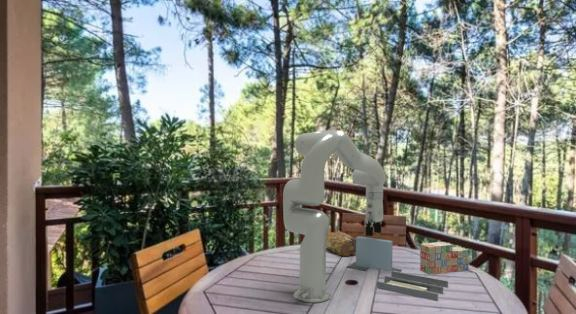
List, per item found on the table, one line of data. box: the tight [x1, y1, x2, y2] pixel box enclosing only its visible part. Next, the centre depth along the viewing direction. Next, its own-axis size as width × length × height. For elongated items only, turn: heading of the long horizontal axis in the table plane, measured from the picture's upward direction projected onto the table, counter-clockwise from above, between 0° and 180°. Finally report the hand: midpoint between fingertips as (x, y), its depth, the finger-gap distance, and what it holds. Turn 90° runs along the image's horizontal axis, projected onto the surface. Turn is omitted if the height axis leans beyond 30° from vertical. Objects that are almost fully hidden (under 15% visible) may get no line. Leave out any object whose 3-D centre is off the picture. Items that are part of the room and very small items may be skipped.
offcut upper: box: [387, 281, 428, 292], centre depth 144 cm, size 4×14×2 cm, turn 54°
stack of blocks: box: [419, 241, 470, 276], centre depth 171 cm, size 21×6×12 cm, turn 109°
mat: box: [346, 261, 403, 273], centre depth 172 cm, size 10×22×1 cm, turn 56°
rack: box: [376, 270, 449, 302], centre depth 147 cm, size 17×22×3 cm
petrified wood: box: [326, 230, 356, 257], centre depth 201 cm, size 19×13×10 cm
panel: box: [355, 236, 394, 272], centre depth 172 cm, size 3×16×13 cm, turn 56°
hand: (373, 234), depth 172 cm, fingers open, 9 cm apart
